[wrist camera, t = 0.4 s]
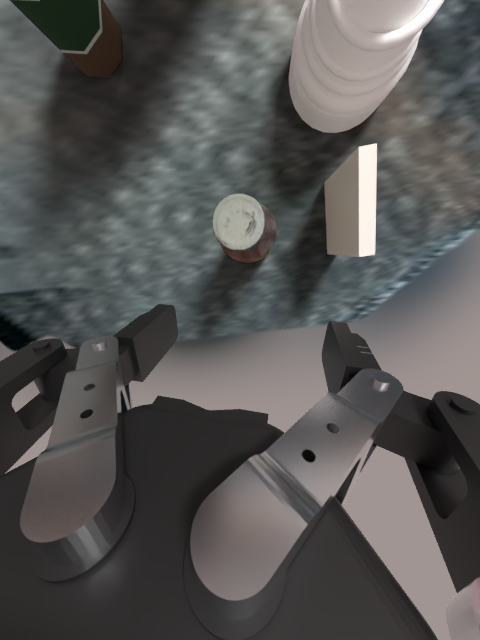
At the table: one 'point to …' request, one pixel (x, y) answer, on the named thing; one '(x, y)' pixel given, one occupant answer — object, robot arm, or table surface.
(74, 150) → the table surface
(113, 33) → the beer bottle
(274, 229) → the sauce bottle
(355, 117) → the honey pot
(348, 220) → the tile
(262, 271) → the table surface
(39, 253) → the table surface
